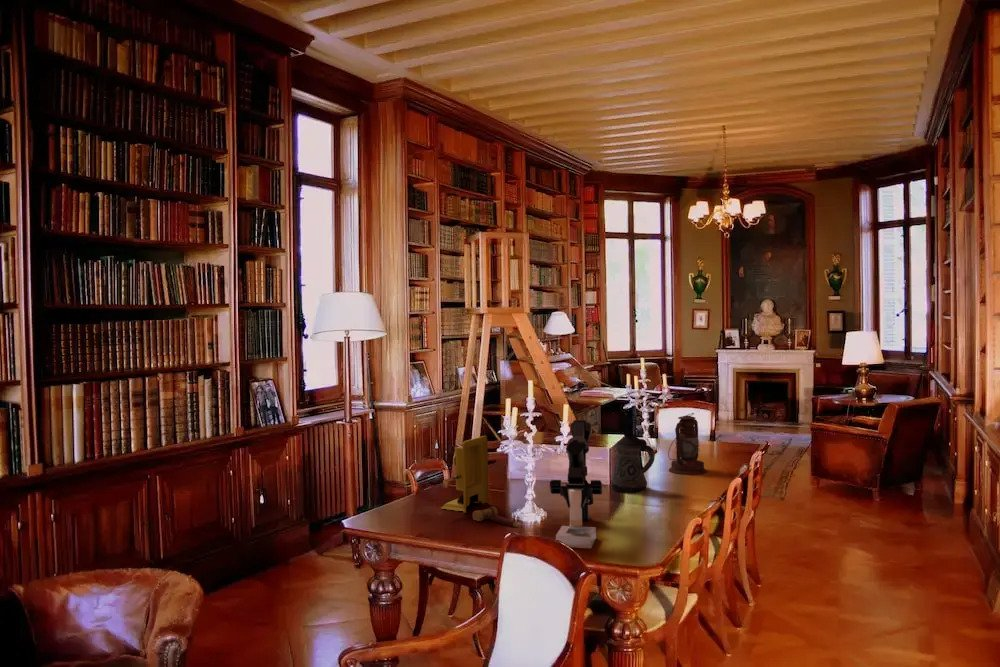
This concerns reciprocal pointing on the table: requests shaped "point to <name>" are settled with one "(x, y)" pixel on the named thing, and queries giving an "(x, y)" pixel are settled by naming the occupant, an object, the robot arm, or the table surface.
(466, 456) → the olive upright panel stand
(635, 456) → the beer stein
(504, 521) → the gavel
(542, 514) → the table surface
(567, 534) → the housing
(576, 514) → the white tall rounded piece
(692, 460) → the lantern
